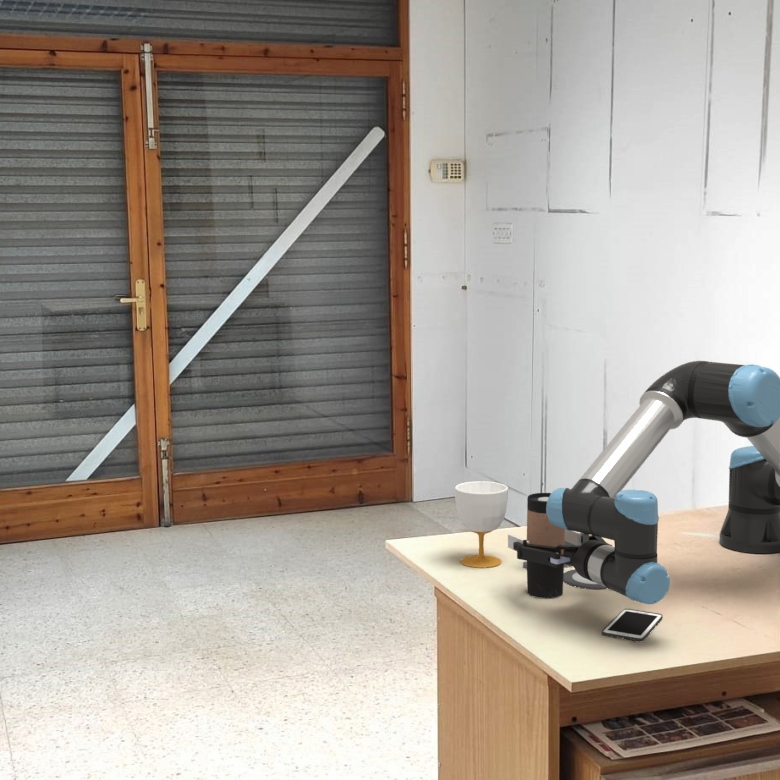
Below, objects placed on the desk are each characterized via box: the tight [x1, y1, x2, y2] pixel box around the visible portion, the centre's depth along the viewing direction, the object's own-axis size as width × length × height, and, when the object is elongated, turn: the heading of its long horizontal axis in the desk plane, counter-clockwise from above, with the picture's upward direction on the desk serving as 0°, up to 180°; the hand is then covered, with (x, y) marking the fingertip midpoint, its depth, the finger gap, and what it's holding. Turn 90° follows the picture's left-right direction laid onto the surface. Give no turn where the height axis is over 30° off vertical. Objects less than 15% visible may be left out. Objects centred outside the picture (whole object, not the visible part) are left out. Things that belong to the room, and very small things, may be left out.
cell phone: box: [601, 608, 664, 643], centre depth 210 cm, size 8×15×1 cm, turn 151°
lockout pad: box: [563, 568, 607, 590], centre depth 237 cm, size 13×13×1 cm
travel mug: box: [526, 492, 565, 599], centre depth 228 cm, size 8×8×20 cm
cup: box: [454, 480, 509, 569], centre depth 249 cm, size 12×12×17 cm
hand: (535, 536), depth 231 cm, fingers open, 12 cm apart
